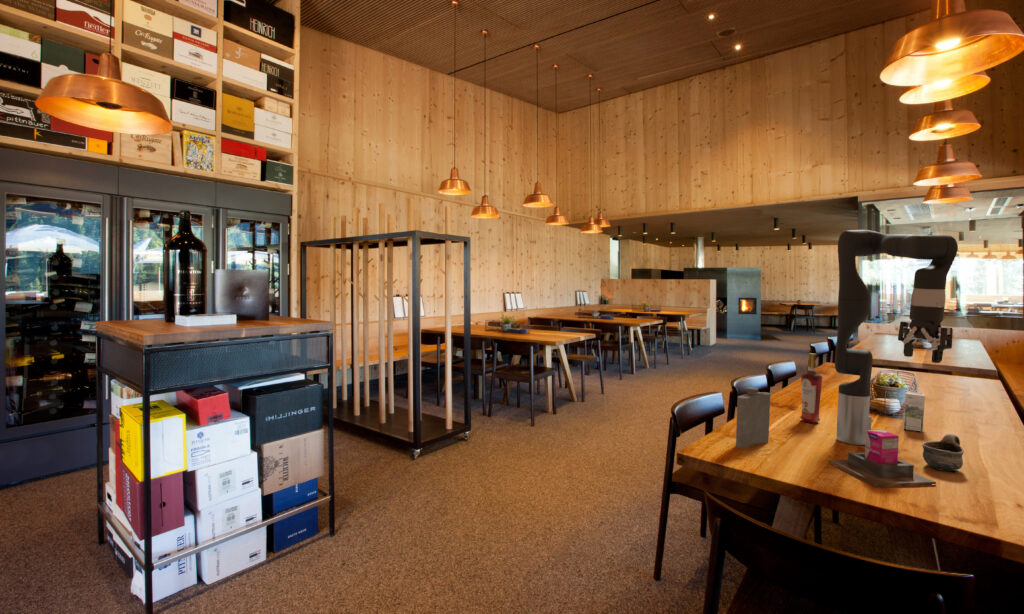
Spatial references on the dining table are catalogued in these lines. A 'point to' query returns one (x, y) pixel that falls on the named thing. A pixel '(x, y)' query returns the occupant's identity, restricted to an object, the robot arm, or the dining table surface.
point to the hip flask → (752, 418)
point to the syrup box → (914, 411)
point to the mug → (944, 453)
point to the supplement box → (881, 447)
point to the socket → (881, 471)
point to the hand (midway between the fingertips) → (921, 359)
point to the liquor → (811, 392)
